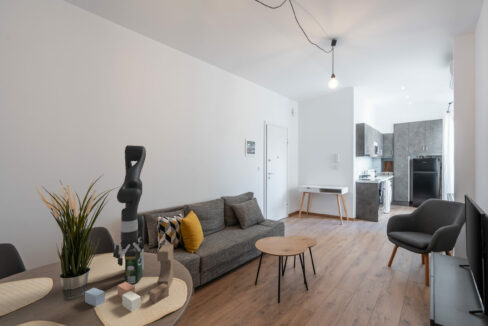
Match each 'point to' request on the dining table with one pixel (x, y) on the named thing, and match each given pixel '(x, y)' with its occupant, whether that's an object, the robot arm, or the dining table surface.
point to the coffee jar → (133, 266)
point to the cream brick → (131, 301)
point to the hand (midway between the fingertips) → (129, 262)
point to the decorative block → (165, 264)
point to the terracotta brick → (125, 288)
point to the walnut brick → (158, 293)
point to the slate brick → (94, 297)
